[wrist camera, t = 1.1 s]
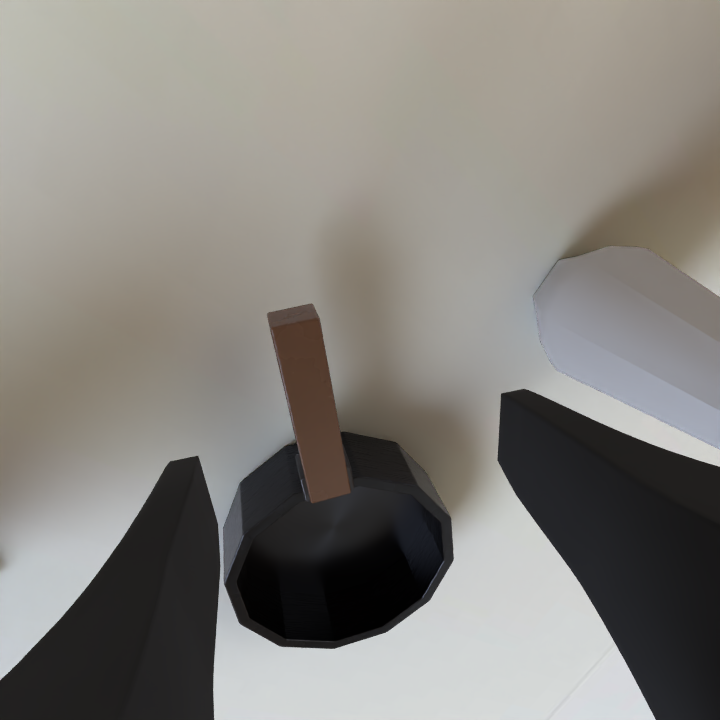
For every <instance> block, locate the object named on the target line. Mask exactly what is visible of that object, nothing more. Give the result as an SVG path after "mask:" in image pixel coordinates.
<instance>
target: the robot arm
mask: <svg viewBox="0 0 720 720" xmlns="http://www.w3.org/2000/svg"><path fill="white" fill-rule="evenodd" d="M498 462H499V464H500V466H501V468H502V470H503V472H504V473H505V475H506V477H507V479H508V481H509V483H510V485H511V486H512V488H513V490H514V492H515V493H516V495H517V497H518V498H519V499H520V501H521V502H522V504H523V505H524V506H525V508H526V509H527V511H528V512H529V513H530V515H531V516H532V517H533V519H534V520H535V522H536V523H537V524H538V526H539V527H540V528H541V530H542V531H543V532H544V534H545V535H546V536H547V538H548V539H549V541H550V542H551V543H552V545H553V546H554V547H555V549H556V550H557V551H558V553H559V554H560V555H561V557H562V558H563V560H564V561H565V562H566V564H567V565H568V566H569V568H570V569H571V571H572V572H573V573H574V575H575V576H576V578H577V579H578V581H579V582H580V584H581V585H582V587H583V589H584V590H585V592H586V594H587V595H588V597H589V599H590V600H591V602H592V604H593V605H594V607H595V609H596V610H597V612H598V614H599V616H600V617H601V619H602V621H603V622H604V624H605V626H606V628H607V629H608V631H609V633H610V635H611V637H612V638H613V640H614V642H615V644H616V645H617V647H618V649H619V651H620V653H621V654H622V656H623V658H624V660H625V662H626V663H627V665H628V667H629V669H630V671H631V673H632V675H633V677H634V679H635V680H636V682H637V684H638V686H639V688H640V690H641V692H642V694H643V696H644V698H645V700H646V702H647V703H648V705H649V707H650V709H651V711H652V713H653V715H654V717H655V719H656V720H720V467H718V466H715V465H712V464H708V463H705V462H701V461H698V460H695V459H692V458H689V457H686V456H683V455H680V454H677V453H674V452H671V451H668V450H665V449H663V448H660V447H657V446H654V445H652V444H649V443H647V442H644V441H642V440H639V439H637V438H634V437H632V436H629V435H627V434H624V433H622V432H620V431H617V430H615V429H613V428H610V427H608V426H606V425H603V424H601V423H599V422H597V421H595V420H592V419H590V418H588V417H586V416H584V415H582V414H579V413H577V412H575V411H573V410H571V409H569V408H567V407H565V406H562V405H560V404H558V403H556V402H554V401H552V400H550V399H547V398H545V397H543V396H541V395H539V394H536V393H534V392H531V391H529V390H526V389H521V390H516V391H511V392H507V393H502V394H501V408H500V426H499V445H498ZM219 579H220V550H219V534H218V522H217V519H216V516H215V512H214V509H213V505H212V502H211V498H210V495H209V491H208V488H207V484H206V481H205V478H204V474H203V471H202V467H201V464H200V460H199V457H198V456H195V457H190V458H185V459H180V460H175V461H170V462H169V463H168V465H167V466H166V467H165V469H164V471H163V473H162V474H161V476H160V478H159V480H158V481H157V483H156V485H155V487H154V488H153V490H152V492H151V494H150V495H149V497H148V499H147V500H146V502H145V504H144V505H143V507H142V509H141V510H140V512H139V513H138V515H137V517H136V518H135V520H134V521H133V523H132V524H131V526H130V528H129V529H128V531H127V532H126V534H125V535H124V537H123V538H122V540H121V541H120V543H119V544H118V546H117V547H116V548H115V550H114V551H113V553H112V554H111V555H110V557H109V558H108V560H107V561H106V562H105V564H104V565H103V567H102V568H101V570H100V571H99V572H98V574H97V575H96V576H95V577H94V579H93V580H92V581H91V583H90V584H89V585H88V586H87V588H86V589H85V590H84V591H83V593H82V594H81V595H80V596H79V598H78V599H77V600H76V601H75V602H74V604H73V605H72V606H71V607H70V608H69V610H68V611H67V612H66V613H65V614H64V615H63V617H62V618H61V619H60V620H59V621H58V622H57V623H56V624H55V625H54V626H53V627H52V628H51V629H50V630H49V631H48V633H47V634H46V635H45V636H44V637H43V638H42V639H41V640H40V641H39V642H38V643H37V644H36V645H35V646H34V647H33V648H32V649H31V650H30V651H29V652H28V653H27V655H26V656H25V657H24V658H23V659H22V660H21V661H20V662H19V663H18V664H17V665H16V666H15V667H14V668H13V669H12V670H11V671H10V672H9V673H8V674H6V675H5V676H4V677H3V678H2V679H1V680H0V720H214V703H213V673H214V654H215V639H216V624H217V610H218V595H219Z"/></svg>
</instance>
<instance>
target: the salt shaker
mask: <svg viewBox="0 0 720 720" xmlns="http://www.w3.org/2000/svg"><path fill="white" fill-rule="evenodd" d="M533 299H534V304H535V309H536V315H537V322H538V330H539V337H540V342H541V344H542V346H543V348H544V350H545V352H546V354H547V356H548V358H549V360H550V362H551V364H552V365H553V366H554V368H555V369H556V370H557V371H559V372H561V373H563V374H565V375H567V376H569V377H571V378H573V379H575V380H577V381H579V382H581V383H583V384H585V385H588V386H590V387H592V388H594V389H596V390H598V391H600V392H602V393H604V394H607V395H609V396H611V397H613V398H615V399H617V400H619V401H621V402H623V403H625V404H627V405H629V406H631V407H633V408H635V409H637V410H639V411H642V412H644V413H646V414H648V415H650V416H652V417H654V418H656V419H658V420H660V421H662V422H664V423H666V424H668V425H670V426H672V427H674V428H677V429H679V430H681V431H683V432H685V433H687V434H689V435H691V436H693V437H695V438H697V439H699V440H701V441H703V442H705V443H707V444H709V445H712V446H714V447H716V448H718V449H720V297H719V296H717V295H716V294H714V293H713V292H711V291H710V290H709V289H707V288H706V287H704V286H703V285H701V284H700V283H698V282H697V281H695V280H694V279H692V278H691V277H689V276H688V275H686V274H685V273H683V272H682V271H680V270H679V269H677V268H676V267H675V266H673V265H672V264H670V263H669V262H667V261H666V260H664V259H663V258H661V257H660V256H658V255H657V254H655V253H654V252H652V251H651V250H649V249H647V248H641V247H627V246H607V247H604V248H601V249H598V250H595V251H592V252H589V253H586V254H582V255H579V256H575V257H570V258H566V259H561V260H558V262H557V263H556V264H555V266H554V267H553V269H552V270H551V271H550V273H549V274H548V276H547V277H546V279H545V280H544V281H543V283H542V284H541V286H540V287H539V288H538V290H537V291H536V293H535V294H534V296H533Z"/></svg>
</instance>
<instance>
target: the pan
mask: <svg viewBox="0 0 720 720" xmlns="http://www.w3.org/2000/svg"><path fill="white" fill-rule="evenodd" d="M267 317H268V322H269V326H270V331H271V335H272V339H273V344H274V348H275V352H276V356H277V361H278V365H279V369H280V373H281V378H282V382H283V386H284V391H285V395H286V399H287V403H288V408H289V412H290V416H291V420H292V425H293V429H294V433H295V437H296V442H297V444H293V445H289V446H286V447H284V448H283V449H281V450H280V451H279V452H278V453H276V454H275V455H274V456H273V457H271V458H270V459H269V460H268V461H267V462H265V463H264V464H263V465H262V466H260V467H259V468H258V469H257V470H255V471H254V472H253V473H252V474H250V475H249V476H248V477H247V478H245V479H244V480H243V481H242V482H241V483H240V484H239V487H238V490H237V492H236V495H235V498H234V500H233V503H232V506H231V509H230V511H229V514H228V517H227V519H226V522H225V525H224V527H223V546H224V585H225V587H226V590H227V592H228V595H229V598H230V600H231V603H232V606H233V608H234V611H235V613H236V616H237V619H238V621H239V623H240V624H241V625H243V626H244V627H246V628H248V629H250V630H251V631H253V632H255V633H257V634H259V635H260V636H262V637H264V638H266V639H268V640H269V641H271V642H273V643H275V644H277V645H278V646H281V647H301V648H326V649H335V648H338V647H341V646H344V645H348V644H351V643H354V642H357V641H360V640H363V639H367V638H370V637H373V636H376V635H379V634H383V633H386V632H388V631H389V630H390V629H392V628H393V627H394V626H396V625H397V624H398V623H400V622H401V621H403V620H404V619H405V618H407V617H408V616H409V615H411V614H412V613H413V612H415V611H416V610H418V609H419V608H420V607H422V606H423V605H424V604H426V603H427V602H428V601H429V600H430V599H431V598H432V596H433V594H434V592H435V591H436V589H437V587H438V586H439V584H440V582H441V581H442V579H443V577H444V575H445V574H446V572H447V570H448V569H449V567H450V565H451V564H452V562H453V559H454V557H453V540H452V524H451V517H450V515H449V513H448V511H447V510H446V508H445V506H444V504H443V502H442V500H441V499H440V497H439V495H438V493H437V491H436V489H435V488H434V486H433V484H432V482H431V480H430V479H429V477H428V475H427V473H426V472H425V471H424V470H423V469H422V468H421V467H420V466H419V465H418V464H417V463H416V462H415V461H414V460H413V459H412V458H411V457H410V456H409V455H408V454H407V453H406V452H405V451H404V450H403V449H402V448H401V447H400V446H399V445H398V444H397V443H395V442H391V441H386V440H382V439H377V438H372V437H367V436H363V435H358V434H353V433H348V432H340V428H339V422H338V417H337V411H336V406H335V400H334V395H333V389H332V384H331V378H330V373H329V367H328V362H327V356H326V351H325V345H324V340H323V334H322V329H321V323H320V318H319V316H318V314H317V312H316V310H315V307H314V305H313V304H307V305H302V306H298V307H293V308H288V309H283V310H279V311H274V312H269V313H267Z"/></svg>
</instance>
